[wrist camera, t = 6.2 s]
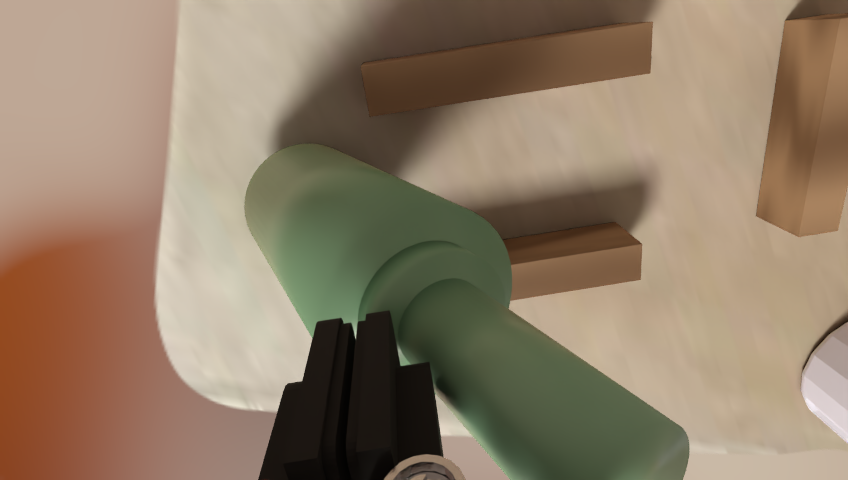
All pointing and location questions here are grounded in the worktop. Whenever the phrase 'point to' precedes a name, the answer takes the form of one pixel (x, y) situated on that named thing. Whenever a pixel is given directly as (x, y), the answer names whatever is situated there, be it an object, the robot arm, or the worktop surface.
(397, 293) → the bottle
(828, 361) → the soap bottle
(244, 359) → the worktop surface
